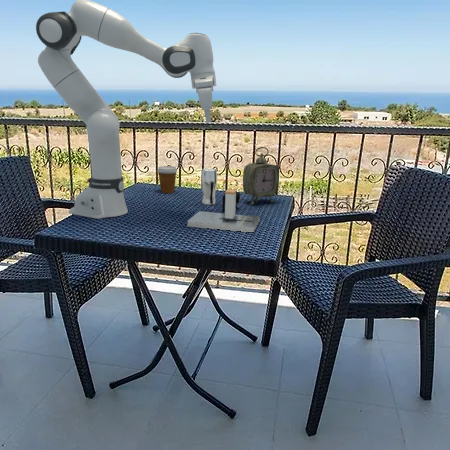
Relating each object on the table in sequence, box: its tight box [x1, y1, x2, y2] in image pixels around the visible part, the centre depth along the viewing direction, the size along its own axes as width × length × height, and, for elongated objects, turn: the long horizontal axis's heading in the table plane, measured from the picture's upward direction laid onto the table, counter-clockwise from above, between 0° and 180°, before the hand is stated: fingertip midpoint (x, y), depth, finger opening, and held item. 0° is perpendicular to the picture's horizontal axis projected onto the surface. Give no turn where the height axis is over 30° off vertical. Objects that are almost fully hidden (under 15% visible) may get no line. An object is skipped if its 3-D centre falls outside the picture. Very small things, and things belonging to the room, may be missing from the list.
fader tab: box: [222, 188, 238, 220], centre depth 141 cm, size 5×4×10 cm
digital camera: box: [221, 190, 241, 213], centre depth 163 cm, size 10×5×7 cm, turn 169°
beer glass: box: [200, 168, 218, 206], centre depth 170 cm, size 7×7×15 cm
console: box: [187, 210, 260, 233], centre depth 143 cm, size 24×14×4 cm, turn 76°
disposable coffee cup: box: [156, 165, 178, 194], centre depth 189 cm, size 10×10×12 cm
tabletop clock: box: [242, 146, 280, 206], centre depth 173 cm, size 14×9×25 cm, turn 120°
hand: (208, 121), depth 145 cm, fingers open, 8 cm apart
